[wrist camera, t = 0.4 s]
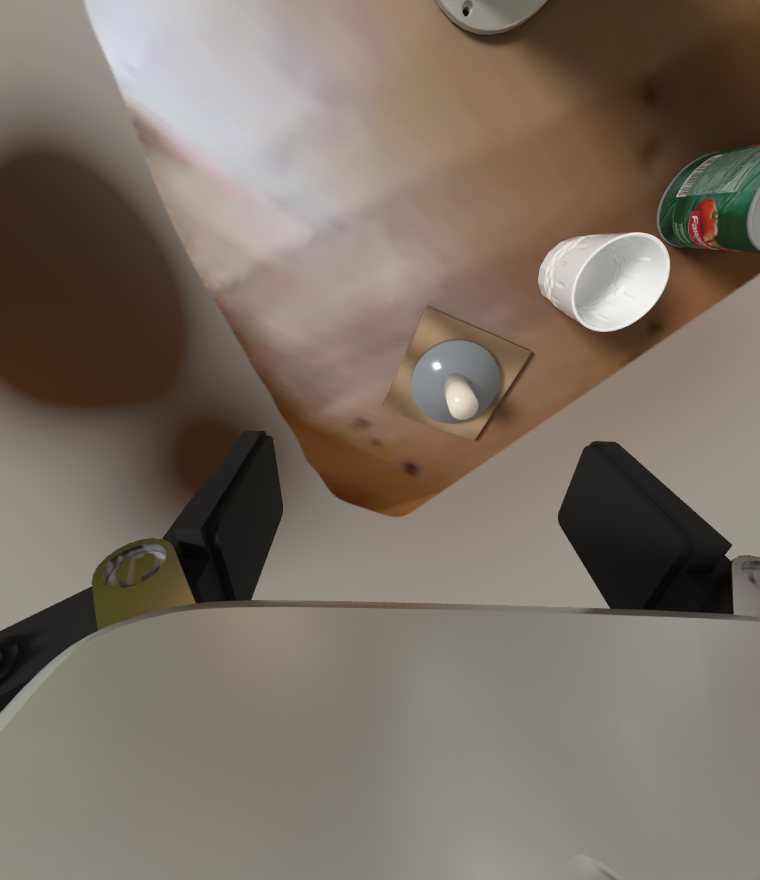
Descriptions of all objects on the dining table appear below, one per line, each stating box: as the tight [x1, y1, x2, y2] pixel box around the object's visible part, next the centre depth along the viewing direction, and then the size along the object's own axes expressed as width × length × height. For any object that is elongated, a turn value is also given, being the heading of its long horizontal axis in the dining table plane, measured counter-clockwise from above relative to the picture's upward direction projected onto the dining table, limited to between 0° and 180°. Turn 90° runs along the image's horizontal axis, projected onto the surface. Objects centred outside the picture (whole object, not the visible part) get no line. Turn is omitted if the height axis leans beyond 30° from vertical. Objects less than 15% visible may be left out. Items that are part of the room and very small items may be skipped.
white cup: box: [538, 232, 670, 332], centre depth 34 cm, size 8×8×10 cm
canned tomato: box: [657, 143, 760, 253], centre depth 30 cm, size 8×8×11 cm
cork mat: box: [383, 306, 531, 441], centre depth 45 cm, size 14×14×1 cm
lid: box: [411, 339, 500, 423], centre depth 41 cm, size 11×11×7 cm
